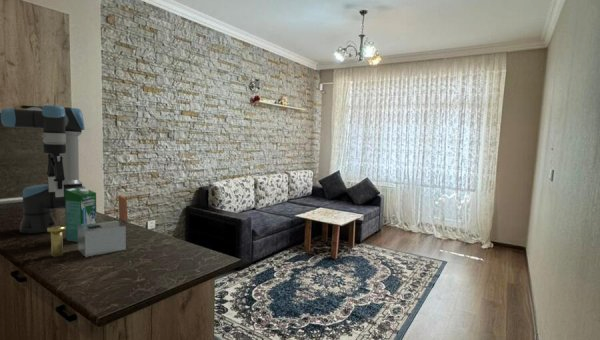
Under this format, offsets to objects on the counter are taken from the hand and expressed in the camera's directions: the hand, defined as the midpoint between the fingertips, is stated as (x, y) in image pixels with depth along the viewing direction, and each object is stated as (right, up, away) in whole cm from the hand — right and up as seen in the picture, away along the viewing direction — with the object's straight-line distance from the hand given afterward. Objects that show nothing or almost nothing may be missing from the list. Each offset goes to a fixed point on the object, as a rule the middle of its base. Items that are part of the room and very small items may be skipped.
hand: (56, 194), depth 139 cm
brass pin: (-1, -26, +3) cm, 26 cm away
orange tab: (+20, -8, +16) cm, 27 cm away
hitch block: (+13, -26, +11) cm, 31 cm away
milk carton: (-5, -24, +24) cm, 35 cm away
